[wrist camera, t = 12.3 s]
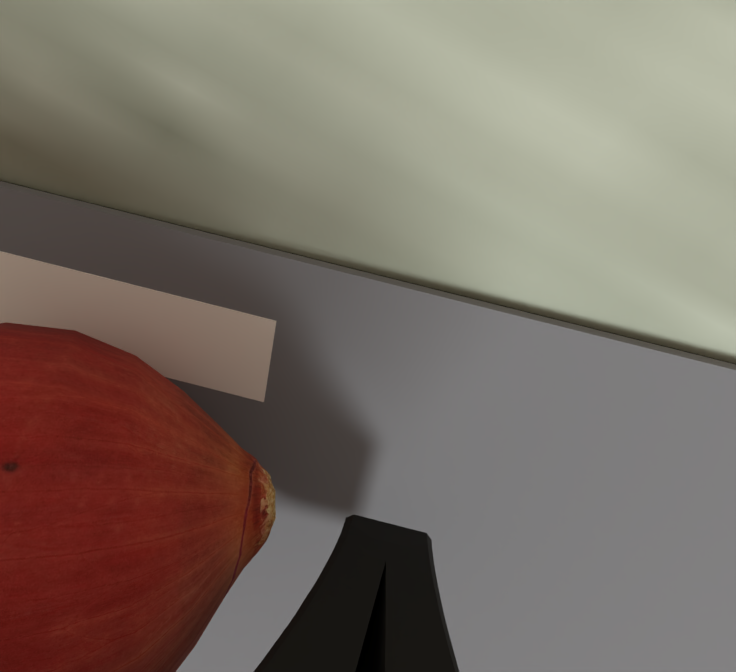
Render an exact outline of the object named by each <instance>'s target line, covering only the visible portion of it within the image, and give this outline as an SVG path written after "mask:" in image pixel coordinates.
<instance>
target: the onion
mask: <svg viewBox="0 0 736 672" xmlns="http://www.w3.org/2000/svg"><path fill="white" fill-rule="evenodd" d="M275 519H276V508H275V489H274V487H273V484H272V481H271V476H270V474H269V473H268V472H267V471H266V470H265V469H264V468H263V467H262V466H261V465H260V464H259V462H258V461H257V459H256V458H255V457H254V456H252V455H251V454H249V453H248V452H247V451H245V450H244V449H242V448H241V447H240V446H239V445H238V444H237V443H236V442H235V441H234V440H233V439H232V438H231V437H230V436H229V435H228V434H227V433H226V432H225V431H224V430H223V429H222V428H221V427H220V426H219V425H218V424H217V423H216V422H215V421H214V420H213V419H212V418H211V417H210V416H209V415H208V414H207V413H206V412H205V411H204V410H203V409H202V408H201V407H200V406H199V405H198V404H197V403H196V402H194V401H193V400H192V399H191V398H190V397H189V396H188V395H187V394H186V393H185V392H184V391H183V390H182V389H180V388H179V387H178V386H176V385H175V384H173V383H172V382H171V381H169V380H168V379H167V378H165V377H164V376H163V375H161V374H160V373H159V372H157V371H156V370H155V369H153V368H152V367H151V366H149V365H148V364H147V363H145V362H144V361H142V360H141V359H140V358H138V357H137V356H136V355H133V354H131V353H129V352H126V351H124V350H121V349H119V348H117V347H114V346H112V345H109V344H107V343H104V342H102V341H100V340H97V339H95V338H92V337H90V336H87V335H85V334H83V333H80V332H78V331H75V330H67V329H59V328H50V327H42V326H33V325H24V324H16V323H7V322H6V323H0V672H176V671H177V670H178V668H179V667H180V666H181V664H182V663H183V662H184V660H185V659H186V658H187V656H188V655H189V654H190V652H191V651H192V650H193V648H194V647H195V646H196V644H197V642H198V641H199V639H200V637H201V636H202V634H203V632H204V631H205V629H206V627H207V626H208V624H209V622H210V621H211V619H212V617H213V616H214V614H215V612H216V611H217V609H218V608H219V606H220V604H221V603H222V601H223V599H224V598H225V596H226V595H227V593H228V592H229V590H230V589H231V587H232V586H233V584H234V583H235V581H236V579H237V578H238V576H239V575H240V573H241V572H242V570H243V569H244V568H245V567H246V565H247V564H248V563H249V562H250V561H251V560H252V558H253V557H254V556H255V555H256V554H257V553H258V552H259V550H260V549H261V548H262V546H263V545H264V544H265V542H266V541H267V539H268V536H269V534H270V532H271V528H272V526H273V523H274V521H275Z"/></svg>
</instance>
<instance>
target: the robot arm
mask: <svg viewBox="0 0 736 672" xmlns="http://www.w3.org/2000/svg"><path fill="white" fill-rule="evenodd" d="M254 672H459V669H458V665H457V661H456V658H455V654H454V650H453V647H452V643H451V639H450V636H449V632H448V628H447V624H446V620H445V616H444V612H443V607H442V602H441V598H440V593H439V588H438V583H437V578H436V572H435V566H434V559H433V551H432V540H431V538H430V537H429V536H428V534H427V533H425V532H421V531H417V530H413V529H409V528H405V527H401V526H398V525H394V524H390V523H386V522H382V521H378V520H374V519H370V518H366V517H362V516H358V515H351V516H349V517H346V519H345V522H344V525H343V528H342V531H341V534H340V536H339V538H338V541H337V543H336V545H335V547H334V549H333V551H332V553H331V555H330V557H329V559H328V561H327V563H326V565H325V567H324V568H323V570H322V572H321V574H320V576H319V577H318V579H317V581H316V582H315V584H314V585H313V587H312V589H311V590H310V592H309V593H308V595H307V597H306V598H305V600H304V601H303V603H302V604H301V606H300V608H299V609H298V611H297V612H296V614H295V615H294V617H293V618H292V620H291V621H290V623H289V624H288V626H287V627H286V628H285V630H284V631H283V632H282V634H281V635H280V637H279V638H278V639H277V641H276V642H275V643H274V645H273V646H272V648H271V649H270V650H269V652H268V653H267V654H266V656H265V657H264V659H263V660H262V661H261V663H260V664H259V665H258V667H257V668H256V669H255V670H254Z"/></svg>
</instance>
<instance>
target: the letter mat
mask: <svg viewBox="0 0 736 672" xmlns="http://www.w3.org/2000/svg"><path fill="white" fill-rule="evenodd" d="M6 322H7V323H16V324H24V325H33V326H42V327H50V328H59V329H67V330H75V331H78V332H80V333H83V334H85V335H87V336H90V337H92V338H95V339H97V340H100V341H102V342H104V343H107V344H109V345H112V346H114V347H117V348H119V349H121V350H124V351H126V352H129V353H131V354H133V355H136V356H137V357H138V358H140V359H141V360H142V361H144V362H145V363H147V364H148V365H149V366H151V367H152V368H153V369H155V370H156V371H157V372H159V373H160V374H161V375H163V376H164V377H165V378H167V379H168V380H169V381H171V382H172V383H173V384H175V385H176V386H178V387H179V388H180V389H182V390H183V391H184V392H185V393H186V394H187V395H188V396H189V397H190V398H191V399H192V400H193V401H194V402H196V403H197V404H198V405H199V406H200V407H201V408H202V409H203V410H204V411H205V412H206V413H207V414H208V415H209V416H210V417H211V418H212V419H213V420H214V421H215V422H216V423H217V424H218V425H219V426H220V427H221V428H222V429H223V430H224V431H225V432H226V433H227V434H228V435H229V436H230V437H231V438H232V439H233V440H234V441H235V442H236V443H237V444H238V445H239V446H240V447H241V448H242V449H244V450H245V451H247V452H248V453H249V454H251V455H252V456H254V457H255V458H256V459H257V461H258V462H259V464H260V465H261V466H262V467H263V468H264V469H265V470H266V471H267V472H268V473H269V474H270V476H271V481H272V484H273V487H274V489H275V508H276V519H275V521H274V523H273V526H272V528H271V532H270V534H269V536H268V539H267V541H266V542H265V544H264V545H263V546H262V548H261V549H260V550H259V552H258V553H257V554H256V555H255V556H254V557H253V558H252V560H251V561H250V562H249V563H248V564H247V565H246V567H245V568H244V569H243V570H242V572H241V573H240V575H239V576H238V578H237V579H236V581H235V583H234V584H233V586H232V587H231V589H230V590H229V592H228V593H227V595H226V596H225V598H224V599H223V601H222V603H221V604H220V606H219V608H218V609H217V611H216V612H215V614H214V616H213V617H212V619H211V621H210V622H209V624H208V626H207V627H206V629H205V631H204V632H203V634H202V636H201V637H200V639H199V641H198V642H197V644H196V646H195V647H194V648H193V650H192V651H191V652H190V654H189V655H188V656H187V658H186V659H185V660H184V662H183V663H182V664H181V666H180V667H179V668H178V670H177V671H176V672H254V670H255V669H256V668H257V667H258V665H259V664H260V663H261V661H262V660H263V659H264V657H265V656H266V654H267V653H268V652H269V650H270V649H271V648H272V646H273V645H274V643H275V642H276V641H277V639H278V638H279V637H280V635H281V634H282V632H283V631H284V630H285V628H286V627H287V626H288V624H289V623H290V621H291V620H292V618H293V617H294V615H295V614H296V612H297V611H298V609H299V608H300V606H301V604H302V603H303V601H304V600H305V598H306V597H307V595H308V593H309V592H310V590H311V589H312V587H313V585H314V584H315V582H316V581H317V579H318V577H319V576H320V574H321V572H322V570H323V568H324V567H325V565H326V563H327V561H328V559H329V557H330V555H331V553H332V551H333V549H334V547H335V545H336V543H337V541H338V538H339V536H340V534H341V531H342V528H343V525H344V522H345V519H346V517H349V516H351V515H358V516H362V517H366V518H370V519H374V520H378V521H382V522H386V523H390V524H394V525H398V526H401V527H405V528H409V529H413V530H417V531H421V532H425V533H427V534H428V536H429V537H430V538H431V540H432V551H433V559H434V566H435V572H436V578H437V583H438V588H439V593H440V598H441V602H442V607H443V612H444V616H445V620H446V624H447V628H448V632H449V636H450V639H451V643H452V647H453V650H454V654H455V658H456V661H457V665H458V669H459V672H736V364H732V363H728V362H724V361H720V360H716V359H712V358H708V357H704V356H700V355H696V354H692V353H688V352H684V351H680V350H676V349H672V348H668V347H664V346H660V345H656V344H652V343H648V342H644V341H640V340H636V339H632V338H628V337H624V336H620V335H616V334H612V333H608V332H604V331H600V330H596V329H592V328H588V327H584V326H580V325H576V324H572V323H568V322H564V321H560V320H556V319H552V318H548V317H544V316H540V315H536V314H532V313H528V312H524V311H520V310H515V309H511V308H507V307H503V306H499V305H495V304H491V303H487V302H483V301H479V300H475V299H471V298H467V297H463V296H459V295H455V294H451V293H447V292H443V291H439V290H435V289H431V288H427V287H423V286H419V285H415V284H411V283H407V282H403V281H399V280H395V279H391V278H387V277H383V276H379V275H375V274H371V273H367V272H363V271H359V270H355V269H351V268H347V267H343V266H339V265H335V264H331V263H327V262H323V261H319V260H315V259H311V258H307V257H303V256H299V255H295V254H291V253H287V252H283V251H279V250H275V249H271V248H267V247H263V246H259V245H255V244H251V243H247V242H243V241H239V240H235V239H231V238H227V237H223V236H219V235H215V234H211V233H207V232H203V231H199V230H195V229H191V228H187V227H183V226H179V225H175V224H171V223H167V222H163V221H159V220H155V219H151V218H147V217H143V216H139V215H135V214H131V213H127V212H123V211H119V210H115V209H111V208H107V207H103V206H99V205H95V204H91V203H87V202H83V201H79V200H75V199H71V198H67V197H63V196H59V195H55V194H51V193H47V192H43V191H39V190H35V189H31V188H27V187H23V186H19V185H15V184H11V183H7V182H3V181H0V323H6Z"/></svg>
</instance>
